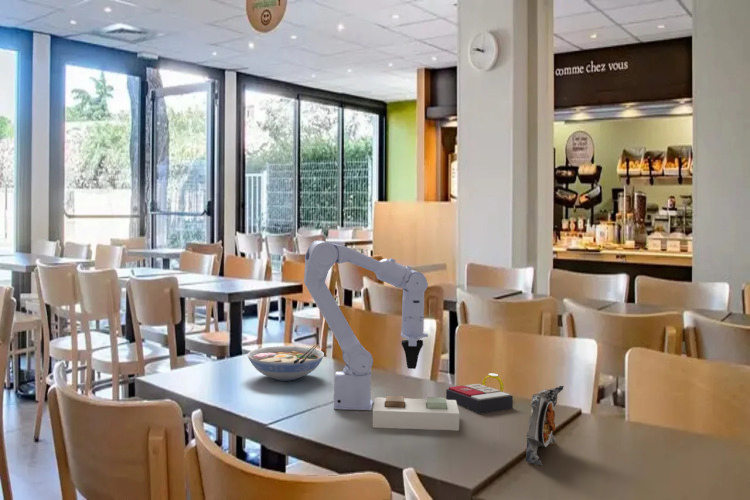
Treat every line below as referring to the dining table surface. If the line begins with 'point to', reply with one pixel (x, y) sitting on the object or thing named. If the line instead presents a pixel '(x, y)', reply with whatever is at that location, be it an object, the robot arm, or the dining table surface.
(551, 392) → the meal
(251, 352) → the ramen bowl
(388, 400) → the walnut key
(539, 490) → the dining table surface
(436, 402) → the sage key
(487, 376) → the watch
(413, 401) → the key panel
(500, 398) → the calculator
